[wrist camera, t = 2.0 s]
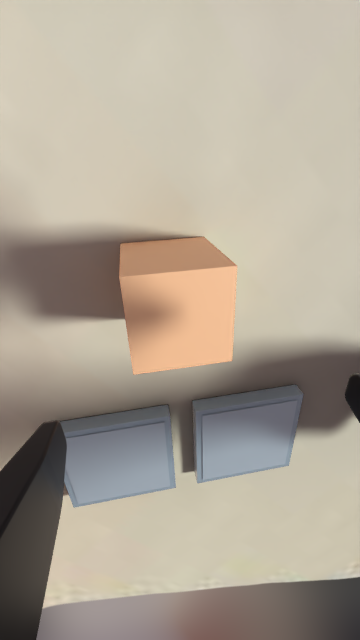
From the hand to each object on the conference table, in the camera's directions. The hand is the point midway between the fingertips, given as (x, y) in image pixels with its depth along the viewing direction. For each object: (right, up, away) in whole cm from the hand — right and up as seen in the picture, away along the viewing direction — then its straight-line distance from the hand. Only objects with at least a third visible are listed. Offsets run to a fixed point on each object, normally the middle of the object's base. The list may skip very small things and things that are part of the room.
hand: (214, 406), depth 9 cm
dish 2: (+5, -7, +18) cm, 19 cm away
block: (-2, +5, +10) cm, 11 cm away
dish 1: (-6, -9, +16) cm, 19 cm away
